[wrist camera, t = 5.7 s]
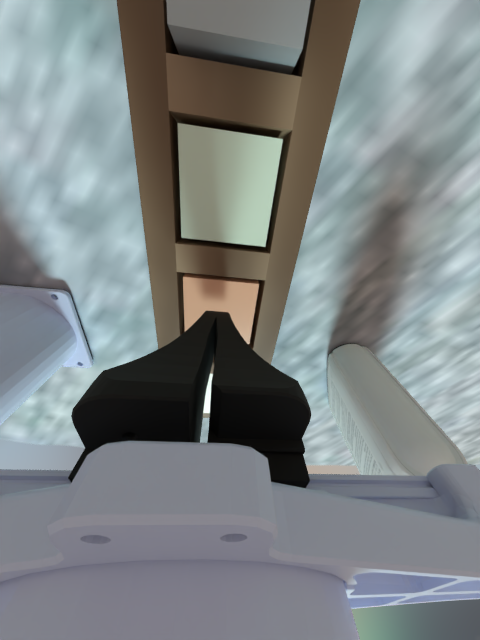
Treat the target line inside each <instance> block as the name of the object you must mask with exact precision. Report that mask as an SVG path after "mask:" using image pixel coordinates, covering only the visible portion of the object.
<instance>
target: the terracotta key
mask: <svg viewBox="0 0 480 640" xmlns="http://www.w3.org/2000/svg"><path fill="white" fill-rule="evenodd" d="M258 288H259V282H258V280H256V279H246V278H235V277H225V276H215V275H204V274H194V273H185V274H184V276H183V295H184V324H185V331H186V330H188V329H189V328H190V327H191V326H192V325H193V324H194V323H195V322H196V321H197V320H198V319H199V318H200V317H201V316H202V314H203V313H204V312H205V311H219V312H228V313H229V314H230V316H231V319H232V321H233V323H234V325H235V327H236V328H237V330H238V331H239V333H240V335H241V336H242V337H243V339H244V340H245V341H246V343H247V344H249V343H250V337H251V331H252V325H253V319H254V313H255V306H256V300H257V294H258Z"/></svg>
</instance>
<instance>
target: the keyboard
mask: <svg viewBox="0 0 480 640" xmlns="http://www.w3.org/2000/svg"><path fill="white" fill-rule="evenodd" d="M359 4H360V0H311V2H310V8H309V14H308V20H307V26H306V31H305V37H304V43H303V49H302V52H301V54H300V56H299V58H298V60H297V63H296V65H295V67H294V69H293V71H292V74H291V75H288V74H283V73H277V72H271V71H266V70H260V69H254V68H249V67H243V66H238V65H232V64H226V63H221V62H215V61H210V60H204V59H198V58H193V57H187V56H182V55H179V53H178V51H177V48H176V45H175V43H174V40H173V37H172V35H171V32H170V29H169V27H168V24H167V2H166V0H117V6H118V15H119V23H120V31H121V40H122V48H123V56H124V65H125V73H126V82H127V90H128V98H129V107H130V115H131V123H132V132H133V140H134V149H135V157H136V165H137V174H138V182H139V190H140V199H141V207H142V216H143V224H144V232H145V241H146V249H147V257H148V266H149V274H150V283H151V291H152V299H153V308H154V316H155V324H156V333H157V341H158V349H160V348H162V347H164V346H165V345H167V344H169V343H171V342H172V341H174V340H175V339H176V338H178V337H179V336H180V335H182V334H183V333H184V332H185V324H184V295H183V276H184V274H185V273H194V274H204V275H215V276H225V277H235V278H246V279H256V280H258V282H259V288H258V294H257V300H256V306H255V313H254V319H253V325H252V331H251V337H250V343H249V344H248V345H249V346H250V347H251V348H252V349H253V350H254V351H255V352H256V353H257V354H258V355H259V356H260V357H261V358H263V359H264V360H265V361H266V362H268V363H269V364H270V365H271V361H272V357H273V353H274V349H275V345H276V341H277V337H278V333H279V329H280V325H281V321H282V317H283V313H284V309H285V305H286V300H287V296H288V292H289V288H290V284H291V280H292V276H293V272H294V268H295V264H296V260H297V256H298V252H299V248H300V244H301V240H302V236H303V232H304V227H305V223H306V219H307V215H308V211H309V207H310V203H311V199H312V195H313V191H314V187H315V183H316V179H317V175H318V171H319V167H320V163H321V159H322V154H323V150H324V146H325V142H326V138H327V134H328V130H329V126H330V122H331V118H332V114H333V110H334V106H335V102H336V98H337V94H338V90H339V86H340V81H341V77H342V73H343V69H344V65H345V61H346V57H347V53H348V49H349V45H350V41H351V37H352V33H353V29H354V25H355V21H356V17H357V13H358V8H359ZM178 123H181V124H187V125H194V126H200V127H207V128H213V129H220V130H226V131H233V132H240V133H246V134H253V135H259V136H266V137H272V138H279V139H283V142H282V148H281V155H280V161H279V167H278V173H277V179H276V185H275V191H274V197H273V203H272V209H271V215H270V221H269V227H268V234H267V240H266V246H265V247H262V246H253V245H244V244H235V243H226V242H217V241H207V240H198V239H189V238H181V209H180V180H179V151H178ZM213 363H214V358H213ZM203 418H210V413H203Z"/></svg>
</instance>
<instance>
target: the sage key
mask: <svg viewBox="0 0 480 640" xmlns="http://www.w3.org/2000/svg"><path fill="white" fill-rule="evenodd" d="M282 142H283V139H279V138H272V137H266V136H259V135H253V134H246V133H240V132H233V131H226V130H220V129H213V128H207V127H200V126H194V125H187V124H181V123H178V151H179V180H180V209H181V238H189V239H198V240H207V241H217V242H226V243H235V244H244V245H253V246H262V247H265V246H266V240H267V234H268V227H269V221H270V215H271V209H272V203H273V197H274V191H275V185H276V179H277V173H278V167H279V161H280V155H281V148H282Z"/></svg>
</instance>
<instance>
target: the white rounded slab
mask: <svg viewBox="0 0 480 640" xmlns="http://www.w3.org/2000/svg"><path fill="white" fill-rule="evenodd" d="M327 380H328V399H329V406H330V409H331V412H332V415H333V417H334V419H335V421H336V423H337V425H338V427H339V429H340V432H341V434H342V436H343V438H344V440H345V442H346V445H347V447H348V449H349V451H350V453H351V455H352V457H353V460H354V462H355V464H356V466H357V468H358V470H359V472H360V475H407V476H426V475H427V473H428V472H429V471H430V470H431V469H432V468H434V467H436V466H438V465H441V464H468V463H467V461H466V459H465V457H464V456H463V454H462V453H461V451H460V450H459V449H458V447H457V446H456V445H455V444H454V443H453V442H452V440H451V439H450V438H449V437H448V436H447V435H446V434H445V433H444V432H443V430H442V429H441V428H440V427H439V426H438V425H437V424H436V423H435V421H434V420H433V419H432V418H431V417H430V416H429V415H428V414H427V413H426V411H425V410H424V409H423V408H422V407H421V406H420V405H419V404H418V403H417V401H416V400H415V399H414V398H413V397H412V396H411V395H410V393H409V392H408V391H407V390H406V389H405V388H404V387H403V386H402V385H401V384H400V382H399V381H398V380H397V379H396V378H395V377H394V376H393V375H392V374H391V373H390V371H389V370H388V369H387V368H386V367H385V366H384V365H383V364H382V363H381V361H380V360H379V359H378V358H377V357H376V356H375V355H374V354H373V353H372V352H371V351H370V350H369V349H368V348H367V347H365V346H364V347H361V346H360V345H357V344H347V345H343V346H340V347H338V348H336V349H335V350H333V352H332V353H330V354H329V357H328V364H327Z"/></svg>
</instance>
